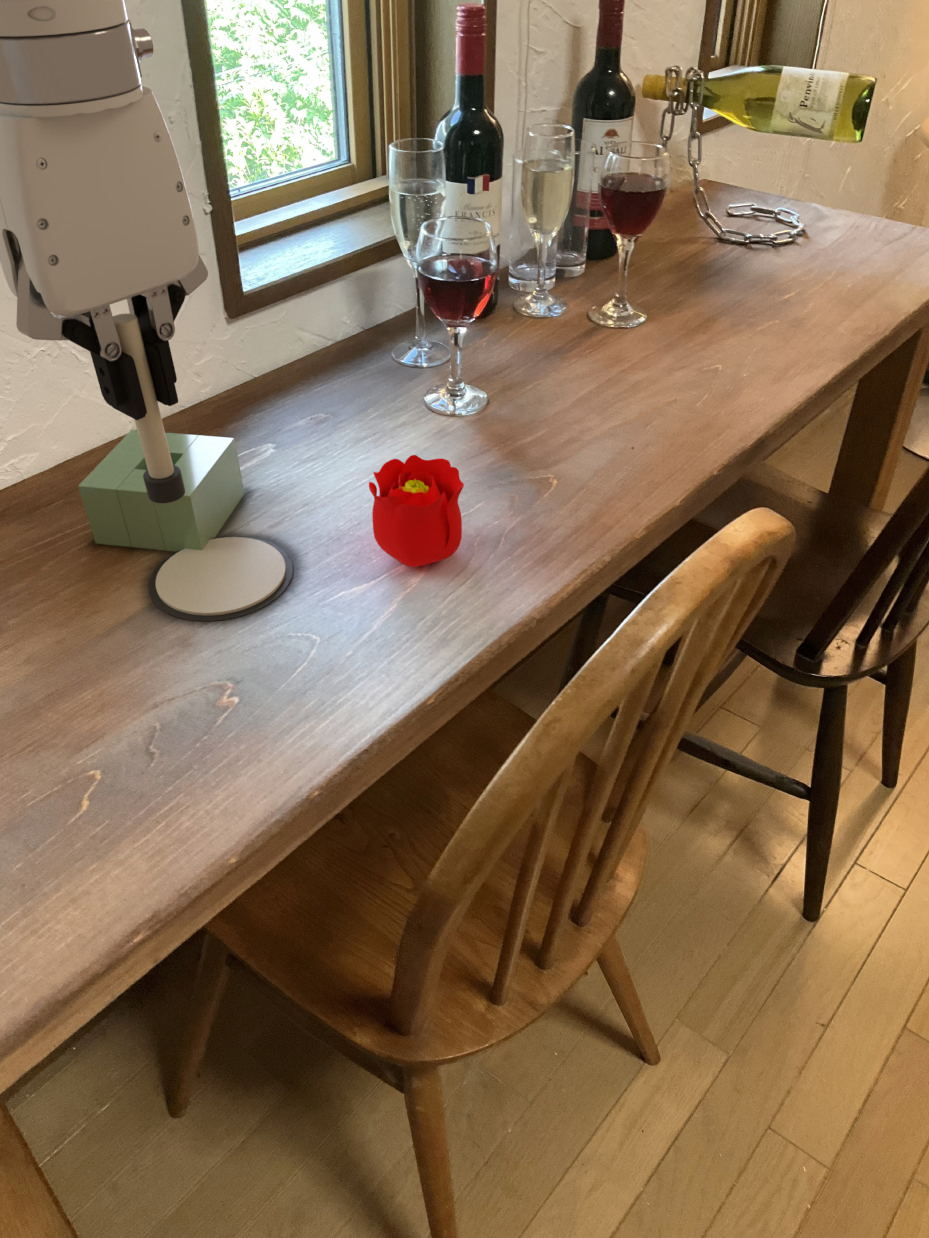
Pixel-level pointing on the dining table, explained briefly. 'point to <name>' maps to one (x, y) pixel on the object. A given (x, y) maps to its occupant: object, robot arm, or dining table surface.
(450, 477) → the flower
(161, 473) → the pen
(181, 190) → the robot arm
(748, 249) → the dining table surface
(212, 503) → the pen stand
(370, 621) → the dining table surface
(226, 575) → the beige coaster disc
